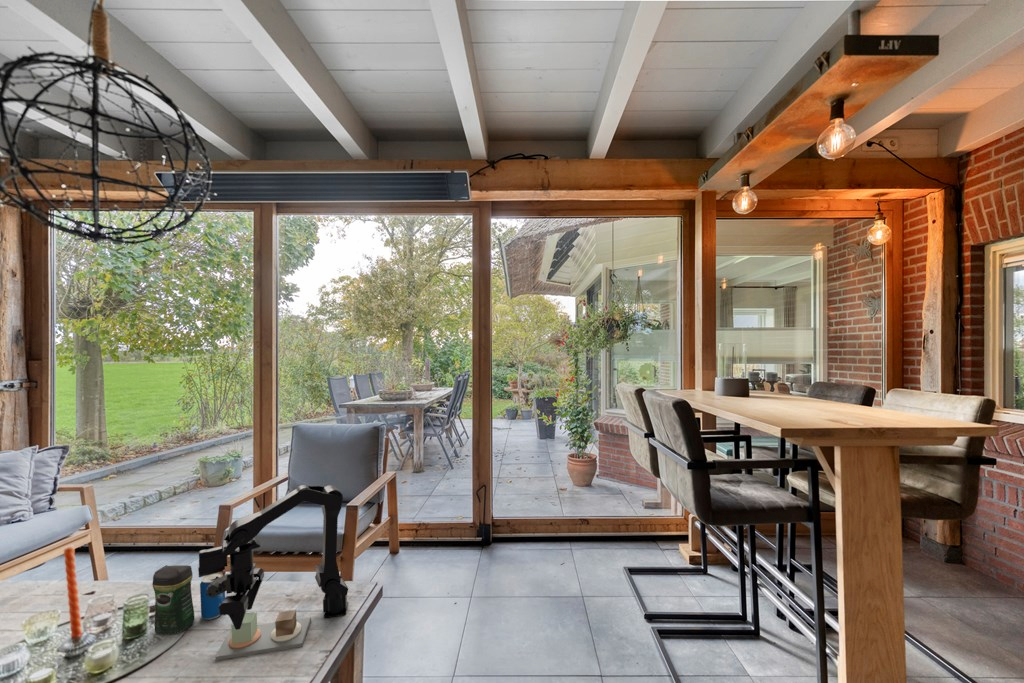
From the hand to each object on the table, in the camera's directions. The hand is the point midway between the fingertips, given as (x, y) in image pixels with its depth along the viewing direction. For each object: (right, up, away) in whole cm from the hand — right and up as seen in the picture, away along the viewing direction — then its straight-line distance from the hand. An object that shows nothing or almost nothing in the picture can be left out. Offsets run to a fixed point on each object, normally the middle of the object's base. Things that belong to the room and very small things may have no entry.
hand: (243, 618), depth 131 cm
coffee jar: (-26, -8, +8) cm, 28 cm away
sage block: (0, -5, 0) cm, 5 cm away
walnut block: (+11, -5, +3) cm, 12 cm away
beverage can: (-18, -7, +14) cm, 23 cm away
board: (+6, -7, +1) cm, 9 cm away
